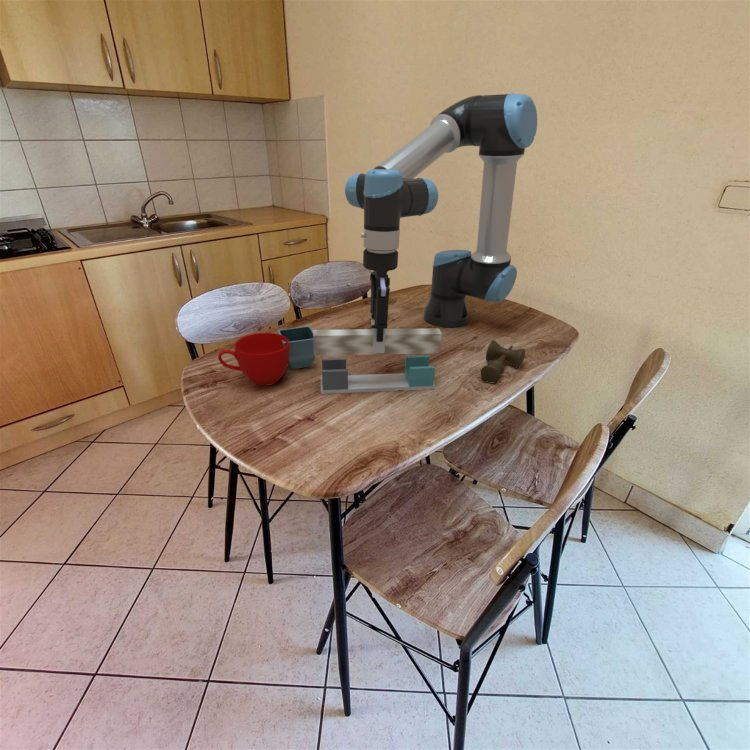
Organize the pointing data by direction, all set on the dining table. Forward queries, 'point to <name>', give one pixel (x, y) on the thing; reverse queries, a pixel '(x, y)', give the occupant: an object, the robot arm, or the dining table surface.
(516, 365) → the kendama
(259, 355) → the ceramic cup
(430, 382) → the long grey teal holder
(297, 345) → the flower pot
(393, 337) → the grey white bar
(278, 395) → the dining table surface
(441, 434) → the dining table surface
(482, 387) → the dining table surface
